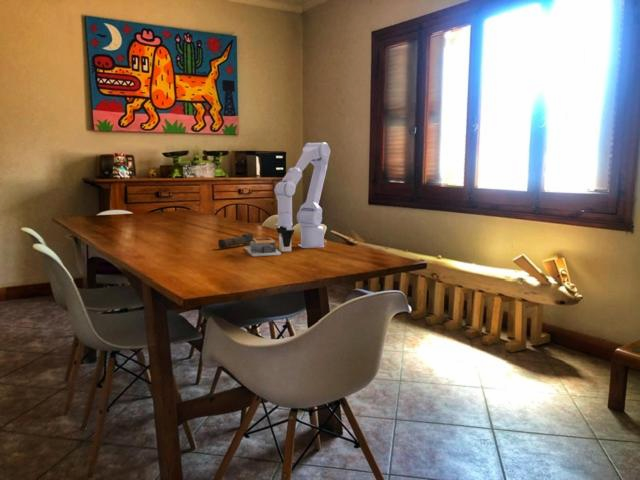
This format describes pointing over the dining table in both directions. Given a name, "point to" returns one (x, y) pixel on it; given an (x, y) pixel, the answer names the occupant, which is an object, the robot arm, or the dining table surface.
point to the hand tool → (236, 241)
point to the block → (281, 246)
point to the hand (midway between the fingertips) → (285, 245)
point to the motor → (262, 247)
